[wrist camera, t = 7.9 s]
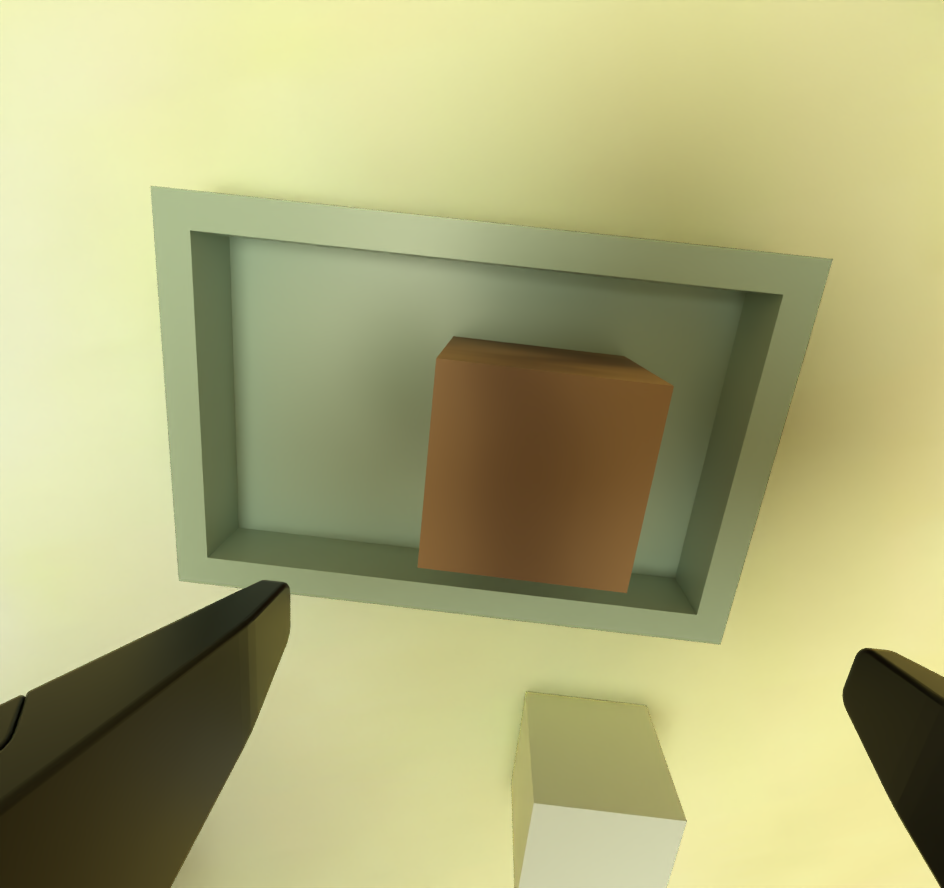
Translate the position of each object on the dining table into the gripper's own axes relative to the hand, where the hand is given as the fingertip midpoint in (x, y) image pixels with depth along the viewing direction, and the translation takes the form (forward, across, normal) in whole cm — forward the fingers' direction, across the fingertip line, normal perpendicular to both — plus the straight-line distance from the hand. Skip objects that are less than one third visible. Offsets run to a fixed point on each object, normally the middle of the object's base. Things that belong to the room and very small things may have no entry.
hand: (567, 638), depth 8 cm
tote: (+11, +2, -1) cm, 11 cm away
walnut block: (+10, 0, -1) cm, 10 cm away
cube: (+11, -4, +13) cm, 18 cm away
